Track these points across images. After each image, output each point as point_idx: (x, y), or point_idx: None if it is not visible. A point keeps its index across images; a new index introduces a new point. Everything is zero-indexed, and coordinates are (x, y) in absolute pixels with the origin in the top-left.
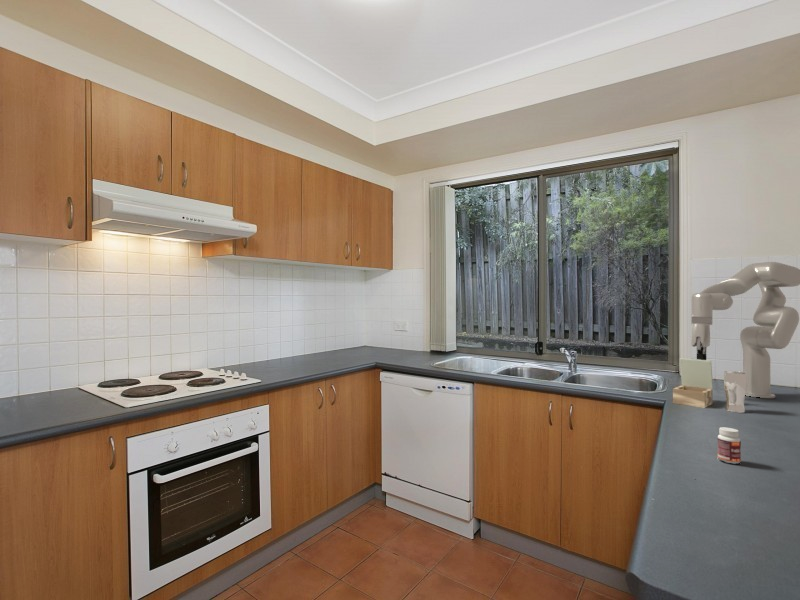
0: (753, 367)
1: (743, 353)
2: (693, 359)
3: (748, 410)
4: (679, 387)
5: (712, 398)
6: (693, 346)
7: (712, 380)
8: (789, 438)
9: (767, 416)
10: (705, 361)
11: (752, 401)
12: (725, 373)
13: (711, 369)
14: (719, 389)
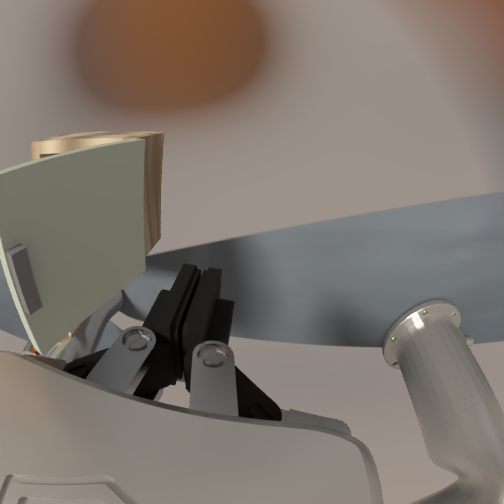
0: (429, 412)
1: (486, 429)
2: (8, 271)
3: (143, 318)
4: (69, 149)
5: (152, 246)
6: (24, 361)
7: (121, 289)
8: (12, 332)
9: (112, 341)
10: (27, 327)
11: (312, 333)
12: (24, 348)
13: (75, 322)
14: (489, 246)
